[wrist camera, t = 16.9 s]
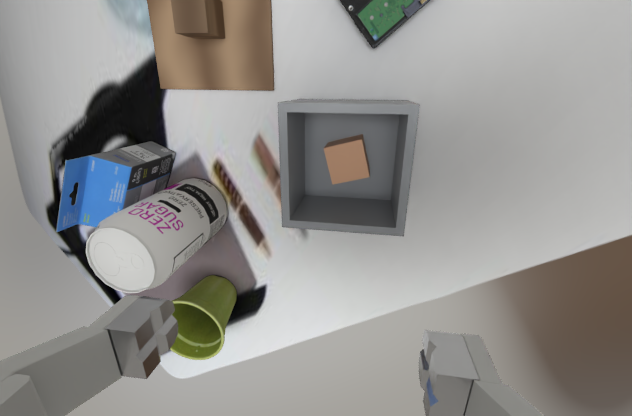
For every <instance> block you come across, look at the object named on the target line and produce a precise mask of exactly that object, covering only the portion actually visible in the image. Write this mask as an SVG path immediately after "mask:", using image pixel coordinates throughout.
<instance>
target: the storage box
mask: <svg viewBox="0 0 632 416" xmlns="http://www.w3.org/2000/svg"><path fill="white" fill-rule="evenodd" d="M419 106H420V105H419V104H416V103H413V102H410V101H403V100H326V99H297V100H291V101H284V102H278V123H279V151H280V179H281V207H282V227H288V228H301V229H314V230H327V231H340V232H353V233H366V234H380V235H393V236H404V229H405V221H406V213H407V205H408V196H409V188H410V180H411V172H412V163H413V155H414V147H415V139H416V131H417V122H418V114H419ZM360 134H363V137H364V142H365V147H366V152H367V157H368V162H369V167H370V177H368V178H363V179H358V180H353V181H348V182H343V183H338V184H333V185H332V181H331V177H330V173H329V169H328V165H327V161H326V157H325V152H324V147H325V146H326V144H327V143H328V142H331V141H335V140H339V139H343V138H347V137H352V136H356V135H360Z"/></svg>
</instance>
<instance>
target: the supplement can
mask: <svg viewBox="0 0 632 416" xmlns="http://www.w3.org/2000/svg"><path fill="white" fill-rule="evenodd" d="M226 217H227V207H226V203H225V201H224V198H223V196H222V194H221V193H220V192H219V191H218V190H217V189H216V188H215V187H214V186H213V185H211V184H210V183H208V182H206V181H205V180H201V179H196V178H191V179H184V180H182V181H180V182H178V183H176V184H174V185H172V186H170V187H168V188H166V189H164V190H162V191H160V192H158V193H156V194H154V195H152V196H150V197H148V198H145V199H143V200H141V201H139V202H137V203H135V204H133V205H131V206H129V207H127V208H125V209H123V210H121V211H119V212H117V213H115V214H113V215H111V216H109V217H107V218H106V219H104V220H102V221H101V222H99V224H98V226H97V228H96V229H95V231H94V233H92V234H91V236H90V237H89V239H88V241H87V243H86V255H87V258H88V262H89V265H90V266H91V268H92V269H93V271H94V272H95V274H96V275H97V276H98V277H99V278H100V279H101V280H102V281H103V282H104V283H105V284H107V285H109V286H110V287H112V288H114V289H116V290H118V291H122V292H126V293H139V292H141V291H143V290H147V289H152V288H154V287H157V286H159V285H161V284H162V283H164V282H165V281H166V280H167V279H168V278H169V277H170V276H171V275H172V274H173V273H174V272H175V271H176V270H177V269H178V268H180V267H181V266H182V265H183V264H184V263H185V262H186V261H187V260H188V259H189V258H190V257H191V256H192V255H193V254H194V253H196V252H197V251H198V250H199V249H200V248H201V247H202V246H203V245H204V244H205V243H206V242H207V241H208V240H209V239H210V238H212V237H213V236H214V235H215V234H216V233H217V232H218V231H219V230H220V229H221V228H222V226H223V225H224V224H225V221H226Z"/></svg>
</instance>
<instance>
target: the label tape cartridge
mask: <svg viewBox="0 0 632 416" xmlns="http://www.w3.org/2000/svg"><path fill="white" fill-rule="evenodd" d="M174 157H175V152H173V151H172V150H169V149H167V148H165V147H163V146H161V145H159V144H157V143H155V142H152V141H150V142H146V143H142V144H138V145H133V146H129V147H125V148H120V149H116V150H112V151H108V152H103V153H98V154H94V155H90V156H86V157H81V158H76V159H71V160H66V161H65V170H64V177H63V184H62V191H61V199H60V206H59V214H58V222H57V229H56V232H59V231H61V230H63V229H66V228H69V227H71V226H74V225H76V224H82V225H87V226H93V227H97V226H98V224H99V222H101V221H102V220H104V219H106V218H107V217H109V216H111V215H113V214H115V213H117V212H119V211H121V210H123V209H125V208H127V207H129V206H131V205H133V204H135V203H137V202H139V201H141V200H143V199H145V198H148V197H150V196H152V195H154V194H156V193H158V192H160V191H162V190H164V189H166V186H167V182H168V179H169V175H170V172H171V168H172V165H173V161H174ZM76 182H78V183H79V184H78V192H77V197H76V203H75V204H74V205H73V206H72V205H71V200H72V198H70V197H69V195H70V193H71V192H73V187H74V184H75V183H76Z"/></svg>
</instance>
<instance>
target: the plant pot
mask: <svg viewBox="0 0 632 416" xmlns="http://www.w3.org/2000/svg"><path fill="white" fill-rule="evenodd" d="M236 296H237V293H236V289H235V287H234V286H233V284H232V283H231V282H230V281H229V280H227V279H225V278H222V277H217V276H215V275H211V276H207V277H205V278H204V279H202V280H201V281H200V282H199V283H197V284H196V285H195V286H194V287H192V288H191V289H190V290H189V291H187V292H186V293H185V294H184V295H182V296H181V297H180V298H177V299H175V300H173V301H172V302H173V303H174V307H175V311H174V313H173V314H172V315H173V317H174V318H175V319H176V320H177V322H178V335H177V337H176V340H175V343H174V344H173V346H172V347H171V348H170V350H172V351H173V352H175V353H177V354H178V355H180V356H183V357H185V358H189V359H193V360H205V359H209V358H211V357H214V356H215V355H216V354H218V353H219V352H220V350H221V349H222V347H223V344H224V335H225V328H226V325H227V322H228V320H229V317H230V315H231V312H232V310H233V307H234V305H235V302H236Z"/></svg>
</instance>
